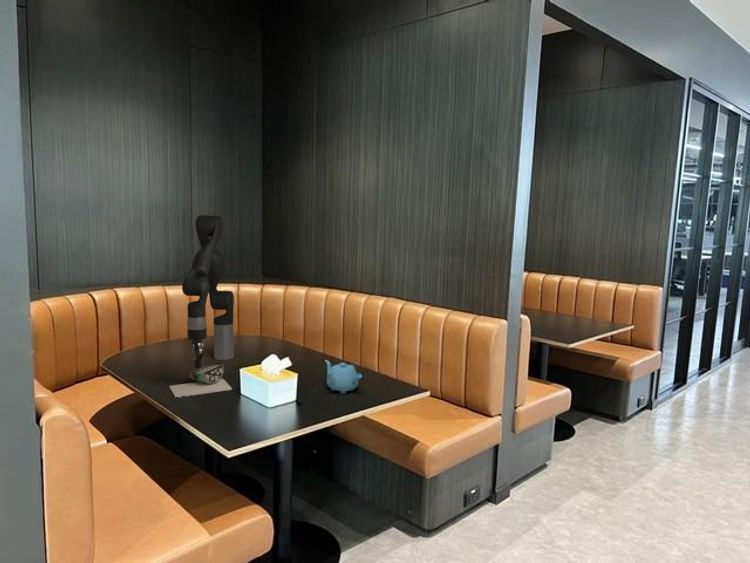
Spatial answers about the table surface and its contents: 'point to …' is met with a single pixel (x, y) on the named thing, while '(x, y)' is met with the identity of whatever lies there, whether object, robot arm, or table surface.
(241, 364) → the table surface
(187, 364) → the table surface
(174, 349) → the table surface
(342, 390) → the teapot
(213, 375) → the food container
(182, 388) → the mat
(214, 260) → the robot arm
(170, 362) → the table surface
